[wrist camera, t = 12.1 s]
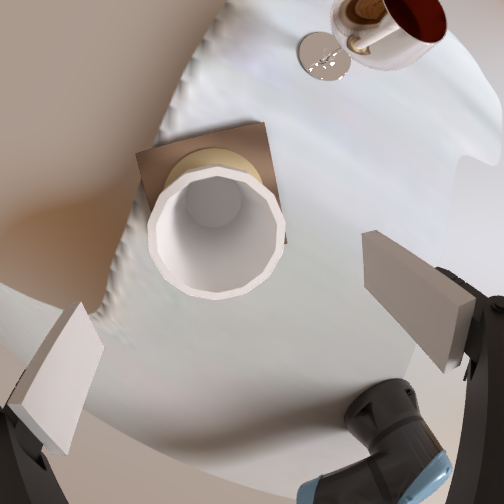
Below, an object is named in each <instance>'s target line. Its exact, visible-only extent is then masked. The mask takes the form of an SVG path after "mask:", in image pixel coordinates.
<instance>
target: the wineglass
mask: <svg viewBox="0 0 504 504" xmlns="http://www.w3.org/2000/svg"><path fill="white" fill-rule="evenodd" d="M330 25H331V29H332V33H333V35H332V34H329V33H324V32H317V33H313V34H310V35H309V36H307V37H306V38H305V39H304V40H303V41H302V43H301V45H300V49H299V57H300V60H301V63H302V65H303V67H304V68H305V69H306V70H307V72H308V73H310V74H311V75H312V76H314V77H315V78H318V79H320V80H324V81H334V80H338V79H340V78H342V77H343V76H344V75H345V74H346V73H347V72H348V70H349V68H350V63H351V58H352V59H353V60H355V61H356V62H358V63H360V64H361V65H363V66H366V67H368V68H371V69H375V70H380V71H395V70H399V69H402V68H405V67H407V66H409V65H411V64H412V63H414V62H415V61H417V60H418V59H419V58H421V57H422V56H423V55H425V54H426V53H427V52H428V51H429V50H431V49H432V48H433V47H434V46H435V45H437V44H438V43H439V42H440V41H441V40H442V39H443V38H444V37H445V35H446V32H447V18H446V14H445V11H444V9H443V7H442V5H441V3H440V1H439V0H334V2H333V4H332V7H331V11H330ZM350 57H351V58H350Z"/></svg>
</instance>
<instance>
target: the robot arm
mask: <svg viewBox="0 0 504 504" xmlns="http://www.w3.org/2000/svg"><path fill="white" fill-rule="evenodd" d="M362 247H363V264H364V287H365V288H366V289H367V290H368V291H369V292H370V293H371V294H372V295H373V296H374V297H375V298H376V299H377V300H378V302H379V303H380V304H381V305H382V306H383V307H384V308H385V309H386V310H387V311H388V312H389V313H390V314H391V315H392V316H393V318H394V319H395V320H396V321H397V322H398V323H399V324H400V325H401V326H402V327H403V328H404V330H405V331H406V332H407V333H408V334H409V335H410V336H411V337H412V338H413V339H414V341H415V342H416V343H417V344H418V345H419V346H420V347H421V348H422V349H423V351H424V352H425V353H426V354H427V355H428V356H429V357H430V358H431V360H432V361H433V362H434V363H435V364H436V365H437V366H438V368H439V369H440V370H441V371H442V372H443V374H445V373H447V372H449V371H450V370H452V369H454V368H456V367H458V366H460V364H461V361H462V357H463V354H464V352H465V353H466V354H467V355H468V356H469V357H470V360H469V363H468V367H467V370H466V373H465V376H464V379H463V381H466V379H467V389H466V400H465V409H464V418H463V425H462V432H461V438H460V444H459V449H458V454H457V460H456V464H455V469H454V474H453V477H452V481H451V485H450V489H449V493H448V496H447V500H446V503H445V504H504V296H492V297H489V298H488V297H486V296H485V295H483V294H482V293H481V292H479V291H478V290H477V289H475V288H474V287H472V286H471V285H469V284H468V283H465V281H464V280H462V279H461V278H458V276H456V275H455V274H453V273H452V272H450V271H449V270H446V269H443V268H440V267H436V268H434V267H432V266H431V265H429V264H428V263H426V262H425V261H423V260H422V259H420V258H419V257H417V256H416V255H414V254H413V253H411V252H410V251H408V250H407V249H405V248H404V247H402V246H401V245H399V244H397V243H396V242H394V241H393V240H391V239H390V238H388V237H386V236H385V235H383V234H382V233H380V232H378V231H377V230H374V231H370V232H366V233H362ZM103 351H104V346H103V344H102V342H101V340H100V339H99V337H98V335H97V333H96V331H95V329H94V327H93V325H92V323H91V321H90V319H89V317H88V315H87V313H86V311H85V309H84V306H83V304H82V302H81V301H80V302H76V303H71V304H68V306H67V307H66V308H65V310H64V311H63V313H62V314H61V316H60V317H59V319H58V320H57V322H56V323H55V325H54V326H53V328H52V329H51V331H50V332H49V334H48V335H47V337H46V338H45V340H44V341H43V343H42V344H41V346H40V348H39V349H38V351H37V352H36V354H35V356H34V357H33V359H32V361H31V362H30V364H29V366H28V367H27V368H26V369H25V370H24V372H23V374H22V375H21V377H20V379H19V380H20V381H18V382H17V384H16V388H14V389H13V391H12V393H11V395H10V397H9V398H8V400H7V402H6V404H5V406H4V408H3V409H2V408H1V406H0V504H69V503H68V501H67V499H66V498H65V496H64V494H63V492H62V490H61V488H60V486H59V484H58V482H57V480H56V478H55V475H54V473H53V471H52V469H51V467H50V464H49V462H48V460H47V458H46V456H45V455H44V454H43V453H42V452H41V450H42V447H43V445H44V446H45V447H46V448H47V449H48V450H49V451H50V452H51V453H52V454H55V455H68V453H69V449H70V446H71V442H72V439H73V435H74V432H75V429H76V426H77V423H78V420H79V417H80V414H81V411H82V408H83V405H84V402H85V399H86V396H87V393H88V391H89V388H90V385H91V382H92V379H93V377H94V374H95V371H96V369H97V366H98V364H99V361H100V358H101V356H102V353H103ZM345 424H346V426H347V428H348V430H349V432H350V433H351V434H352V435H353V436H354V437H355V438H356V439H357V440H359V441H360V442H361V443H362V444H363V445H364V446H365V447H366V448H367V449H368V451H369V453H370V455H371V456H369V457H367V458H365V459H363V460H360V461H358V462H356V463H354V464H351V465H349V466H346V467H344V468H341V469H339V470H336V471H333V472H331V473H328V474H325V475H320V476H319V477H318V478H315V479H313V480H310V481H308V482H305V483H303V484H302V485H301V486H300V488H299V489H298V492H297V504H419V503H420V502H422V501H423V500H424V499H426V498H427V497H429V496H430V495H431V494H432V493H434V492H435V491H436V490H437V489H438V488H439V487H440V486H441V485H443V484H444V482H445V481H446V480H447V479H448V478H449V476H450V474H451V472H452V464H451V462H450V460H449V458H448V456H447V455H446V451H445V450H444V449H443V448H442V446H441V445H440V443H439V442H438V440H437V439H436V437H435V436H434V434H433V433H432V431H431V430H430V428H429V427H428V425H427V424H426V423H425V421H424V420H423V418H422V417H421V415H420V411H419V406H418V402H417V398H416V393H415V391H414V389H413V388H412V386H411V385H410V383H409V382H407V381H406V380H403V379H393V380H388V381H385V382H382V383H380V384H378V385H376V386H374V387H372V388H370V389H369V390H367V391H366V392H364V393H363V394H362V395H361V396H359V397H358V398H357V399H356V400H355V401H354V402H353V403H352V404H351V406H350V407H349V408H348V410H347V412H346V414H345Z"/></svg>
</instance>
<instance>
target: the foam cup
mask: <svg viewBox="0 0 504 504" xmlns="http://www.w3.org/2000/svg"><path fill="white" fill-rule="evenodd" d="M285 226H286V222H285V220H284V217H283V215H282V212H281V210H280V208H279V205H278V203H277V200H276V198H275V196H274V194H273V193H272V192H271V191H269V190H268V189H267V188H266V187H265V186H264V185H262V184H261V183H260V182H259V181H258V180H257V179H255V178H254V177H253V176H252V175H251V174H249V173H248V172H247V171H246V170H242V169H238V168H234V167H230V166H226V165H221V164H217V163H216V164H212V165H207V166H203V167H199V168H194V169H190V170H187V171H186V172H184V173H183V174H182V175H181V176H179V177H178V178H177V179H176V180H175V181H173V182H172V183H171V184H170V185H169V186H167V187H166V188H165V189H164V190H163V191H162V192H161V194H160V195H159V197H158V199H157V202H156V204H155V206H154V209H153V211H152V213H151V216H150V218H149V220H148V223H147V229H148V243H149V254H150V256H151V257H152V259H153V261H154V262H155V264H156V266H157V268H158V269H159V271H160V273H161V274H162V276H163V278H164V279H165V280H167V281H168V282H170V283H171V284H173V285H174V286H175V287H177V288H178V289H180V290H181V291H183V292H184V293H186V294H187V295H190V296H195V297H201V298H206V299H212V300H221V299H226V298H230V297H235V296H239V295H243V294H246V293H248V292H249V291H250V290H252V289H253V288H255V287H256V286H257V285H259V284H260V283H261V282H263V281H264V280H266V279H267V278H268V277H269V276H270V275H271V273H272V271H273V269H274V268H275V266H276V264H277V262H278V261H279V259H280V257H281V255H282V254H283V252H284V239H285Z"/></svg>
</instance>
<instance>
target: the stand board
mask: <svg viewBox="0 0 504 504" xmlns="http://www.w3.org/2000/svg"><path fill="white" fill-rule="evenodd" d="M136 158H137V161H138V166H139V170H140V174H141V177H142V181H143V185H144V188H145V192H146V196H147V199H148V203H149V206H150V210H151V213H152V211H153V209H154V206H155V204H156V202H157V199H158V197H159V195H160V194H161V192H162V191H163V190H164V189H165V188H166V187H167V186H169V185H170V184H171V183H172V182H173V181H175V180H176V179H177V178H178V177H179V176H181V175H182V174H183V173H184V172H186V171H187V170H190V169H194V168H199V167H203V166H207V165H212V164H216V163H217V164H221V165H226V166H230V167H234V168H238V169H242V170H246V171H247V172H248V173H249V174H251V175H252V176H253V177H254V178H255V179H257V180H258V181H259V182H260V183H261V184H262V185H264V186H265V187H266V188H267V189H268V190H269V191H271V192H272V193H273V194H274V196H275V198H276V200H277V203H278V205H279V208H280V210H281V205H280V200H279V194H278V189H277V184H276V178H275V173H274V168H273V163H272V158H271V153H270V148H269V143H268V138H267V133H266V128H265V123H264V122H262V123H257V124H251V125H246V126H241V127H236V128H232V129H227V130H222V131H218V132H213V133H209V134H205V135H201V136H197V137H193V138H189V139H185V140H181V141H177V142H174V143H170V144H166V145H163V146H159V147H156V148H152V149H149V150H146V151H143V152H139V153H136ZM281 212H282V211H281ZM284 244H287V239H286V233H285V239H284Z"/></svg>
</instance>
